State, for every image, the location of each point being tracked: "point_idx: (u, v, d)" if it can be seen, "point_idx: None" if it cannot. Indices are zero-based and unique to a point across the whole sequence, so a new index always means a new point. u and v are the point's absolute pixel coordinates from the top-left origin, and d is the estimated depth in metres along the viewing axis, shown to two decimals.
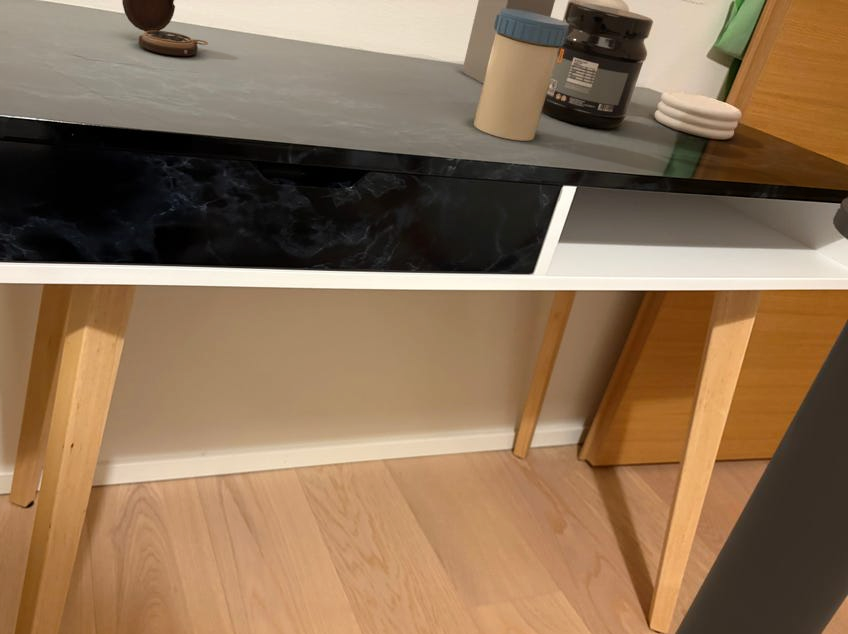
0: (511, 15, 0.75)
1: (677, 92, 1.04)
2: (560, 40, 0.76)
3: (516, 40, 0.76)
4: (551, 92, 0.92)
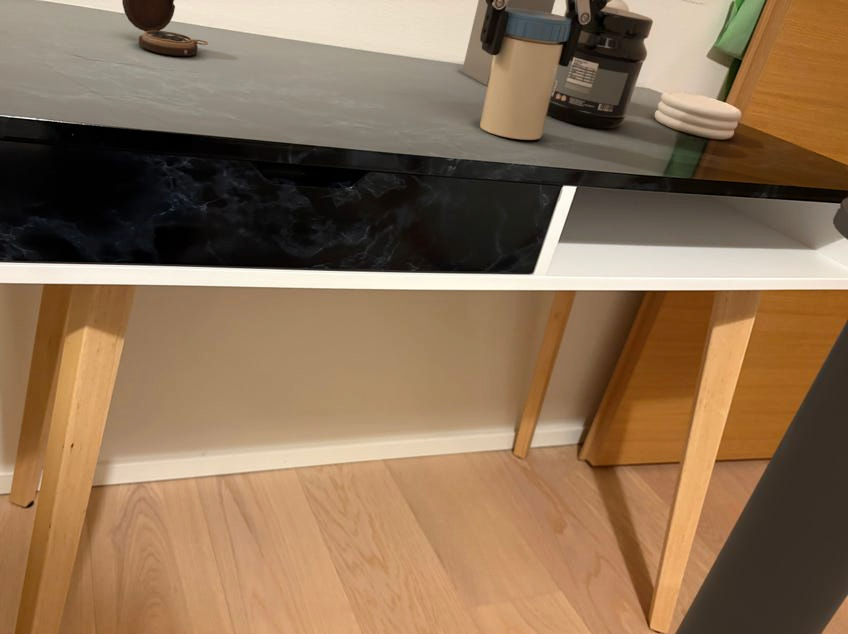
0: (564, 21, 0.75)
1: (677, 92, 1.04)
2: None
3: (519, 39, 0.76)
4: None
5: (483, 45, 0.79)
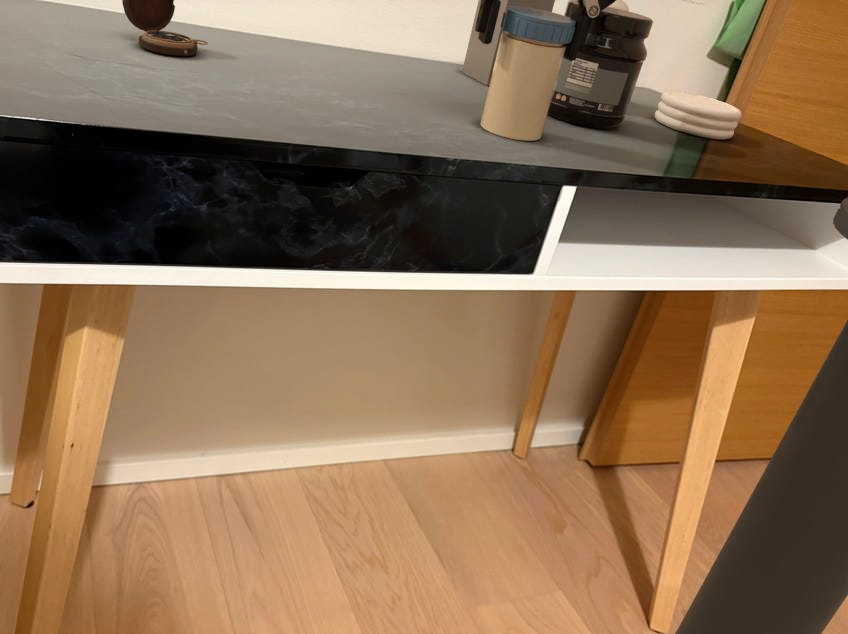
0: (564, 16, 0.79)
1: (677, 92, 1.04)
2: None
3: (528, 42, 0.76)
4: None
5: (479, 35, 0.79)
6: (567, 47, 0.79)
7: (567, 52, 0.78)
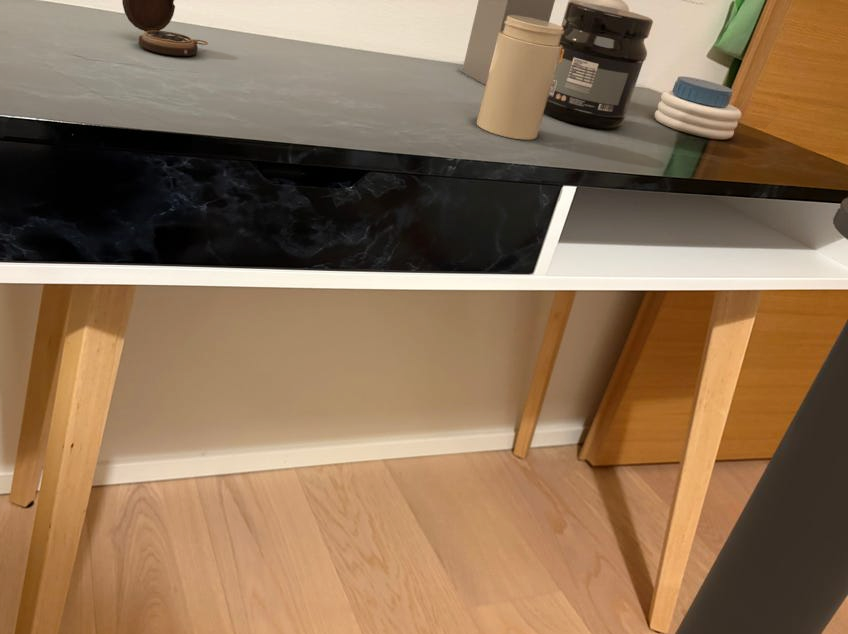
0: (688, 83, 0.99)
1: None
2: (725, 102, 1.00)
3: (528, 42, 0.76)
4: (551, 92, 0.92)
5: None
6: None
7: None
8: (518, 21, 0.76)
